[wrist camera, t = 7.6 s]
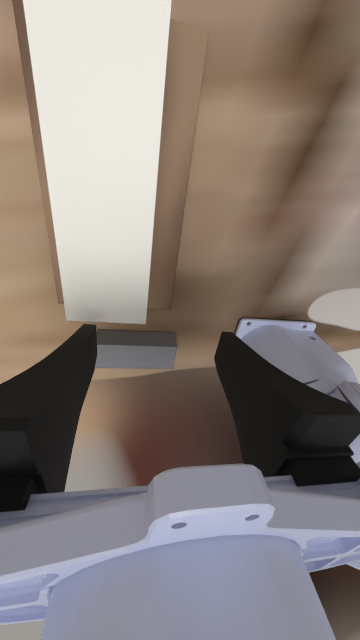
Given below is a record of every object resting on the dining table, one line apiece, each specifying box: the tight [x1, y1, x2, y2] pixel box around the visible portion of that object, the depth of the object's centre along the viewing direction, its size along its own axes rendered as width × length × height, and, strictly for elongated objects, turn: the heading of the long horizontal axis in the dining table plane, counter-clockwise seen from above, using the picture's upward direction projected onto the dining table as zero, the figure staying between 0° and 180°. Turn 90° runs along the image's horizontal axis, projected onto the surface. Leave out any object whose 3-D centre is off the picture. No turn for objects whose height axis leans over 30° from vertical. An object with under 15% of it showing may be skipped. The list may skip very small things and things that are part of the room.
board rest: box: [95, 330, 177, 369], centre depth 24 cm, size 8×3×2 cm, turn 82°
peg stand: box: [12, 0, 209, 310], centre depth 15 cm, size 10×18×5 cm, turn 172°
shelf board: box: [23, 0, 171, 324], centre depth 12 cm, size 14×5×2 cm, turn 172°
